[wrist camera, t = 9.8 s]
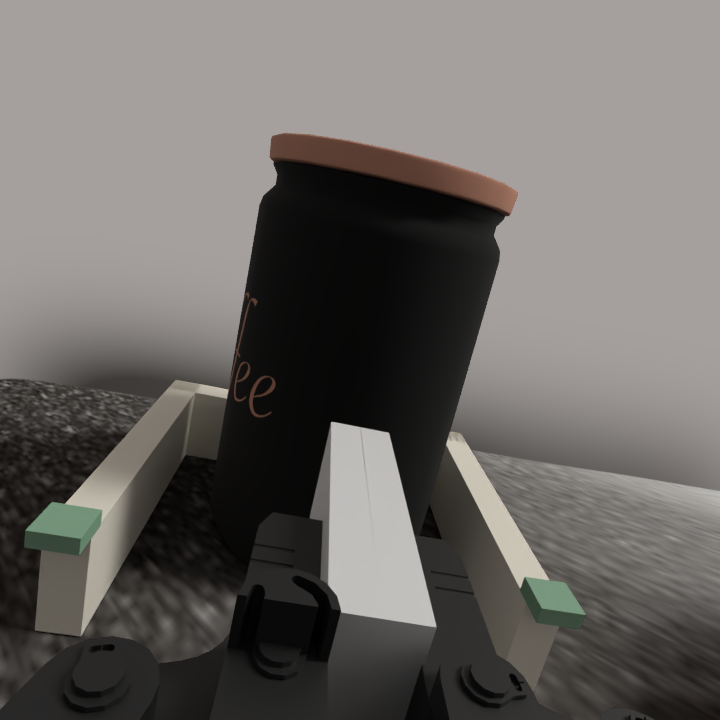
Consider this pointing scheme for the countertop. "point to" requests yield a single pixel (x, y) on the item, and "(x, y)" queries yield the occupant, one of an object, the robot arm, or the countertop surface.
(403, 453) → the coffee jar
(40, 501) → the countertop surface
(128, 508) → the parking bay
